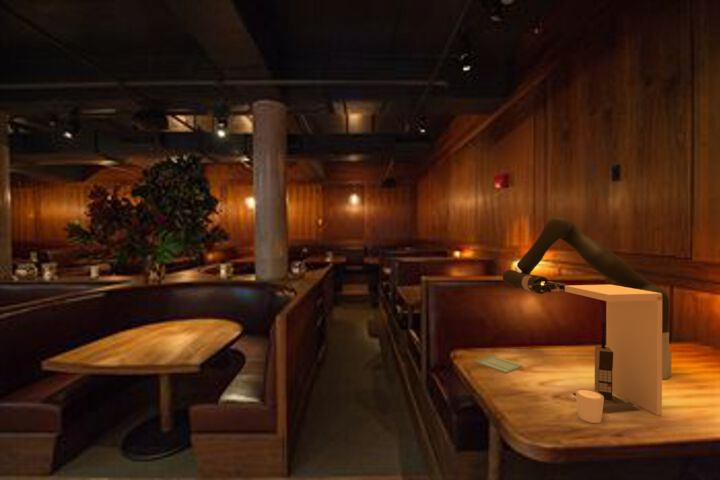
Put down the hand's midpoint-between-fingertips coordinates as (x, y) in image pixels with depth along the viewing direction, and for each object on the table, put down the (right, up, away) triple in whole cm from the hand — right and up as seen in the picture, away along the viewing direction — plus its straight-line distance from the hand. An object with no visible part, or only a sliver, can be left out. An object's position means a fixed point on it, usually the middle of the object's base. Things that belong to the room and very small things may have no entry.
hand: (560, 289), depth 131 cm
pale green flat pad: (-21, -33, +7) cm, 40 cm away
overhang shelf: (+1, -32, -24) cm, 40 cm away
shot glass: (-11, -33, -33) cm, 48 cm away
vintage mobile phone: (0, -32, -24) cm, 40 cm away
